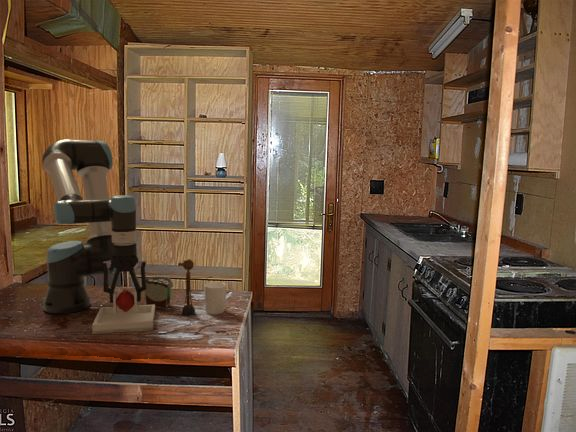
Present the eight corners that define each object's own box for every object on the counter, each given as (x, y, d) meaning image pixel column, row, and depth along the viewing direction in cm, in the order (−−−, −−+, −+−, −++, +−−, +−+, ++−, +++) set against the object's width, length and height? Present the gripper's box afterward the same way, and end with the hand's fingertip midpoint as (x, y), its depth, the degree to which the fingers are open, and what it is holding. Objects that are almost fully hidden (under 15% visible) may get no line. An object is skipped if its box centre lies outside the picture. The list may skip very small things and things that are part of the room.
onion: (119, 308, 151) (119, 285, 150) (137, 308, 152) (136, 286, 150) (114, 315, 145) (113, 291, 144) (132, 315, 146) (131, 291, 145)
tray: (92, 334, 139) (92, 324, 139) (100, 315, 154) (100, 307, 154) (152, 330, 143) (152, 321, 143) (155, 312, 159) (155, 304, 158)
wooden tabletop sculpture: (176, 315, 157) (176, 260, 154) (181, 310, 161) (181, 256, 158) (192, 316, 156) (192, 261, 153) (197, 312, 160) (197, 257, 157)
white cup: (221, 316, 157) (221, 288, 156) (200, 313, 159) (200, 286, 157) (229, 308, 165) (229, 282, 164) (208, 306, 166) (209, 280, 165)
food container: (180, 305, 167) (180, 279, 166) (169, 310, 162) (169, 283, 160) (154, 299, 172) (154, 274, 171) (143, 304, 167) (142, 278, 165)
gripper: (90, 246, 139) (93, 317, 142) (153, 244, 144) (154, 313, 147) (95, 241, 146) (97, 309, 150) (154, 240, 151) (155, 306, 154)
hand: (125, 311), depth 148 cm, fingers closed on onion, 6 cm apart
